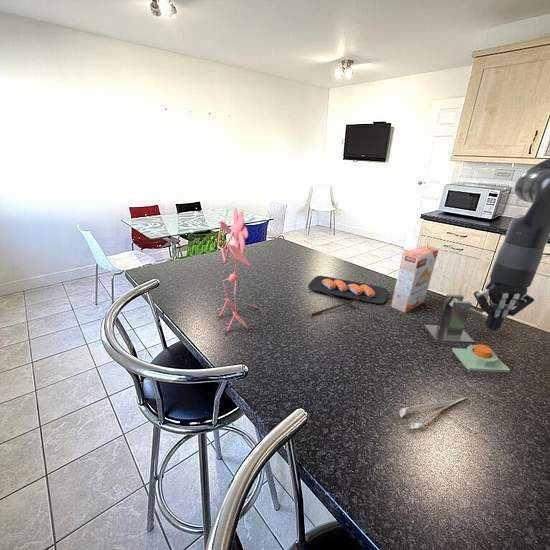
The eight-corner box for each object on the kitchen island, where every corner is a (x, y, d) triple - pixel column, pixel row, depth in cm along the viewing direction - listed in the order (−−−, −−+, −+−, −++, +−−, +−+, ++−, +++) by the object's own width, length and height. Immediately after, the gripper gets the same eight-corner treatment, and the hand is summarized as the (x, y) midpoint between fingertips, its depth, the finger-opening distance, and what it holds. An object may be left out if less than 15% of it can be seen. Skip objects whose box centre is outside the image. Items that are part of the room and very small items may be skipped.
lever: (483, 317, 87) (488, 311, 86) (493, 327, 83) (499, 320, 82) (446, 301, 86) (451, 295, 85) (455, 310, 81) (460, 303, 80)
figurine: (231, 348, 80) (226, 221, 66) (212, 304, 102) (204, 203, 88) (282, 336, 86) (287, 217, 72) (253, 297, 107) (253, 200, 93)
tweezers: (414, 432, 57) (417, 424, 56) (397, 413, 61) (399, 406, 60) (473, 410, 64) (476, 403, 63) (454, 395, 68) (456, 388, 67)
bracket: (458, 329, 91) (470, 293, 86) (473, 345, 84) (487, 306, 79) (423, 328, 91) (432, 291, 86) (434, 343, 84) (446, 304, 79)
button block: (487, 354, 80) (492, 344, 79) (508, 375, 73) (512, 364, 71) (450, 353, 80) (454, 342, 79) (467, 373, 73) (471, 362, 71)
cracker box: (406, 316, 98) (419, 257, 90) (389, 308, 102) (401, 252, 94) (425, 303, 106) (439, 249, 98) (409, 297, 110) (422, 244, 102)
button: (484, 349, 77) (486, 344, 76) (493, 359, 73) (495, 353, 73) (470, 349, 77) (472, 343, 76) (478, 358, 74) (480, 352, 73)
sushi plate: (388, 292, 114) (389, 283, 112) (378, 332, 89) (380, 321, 87) (316, 278, 125) (317, 270, 123) (290, 310, 100) (290, 300, 98)
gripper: (497, 267, 62) (473, 336, 69) (561, 270, 61) (530, 338, 68) (476, 256, 69) (456, 319, 76) (533, 258, 68) (508, 321, 75)
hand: (491, 328), depth 72 cm, fingers closed
